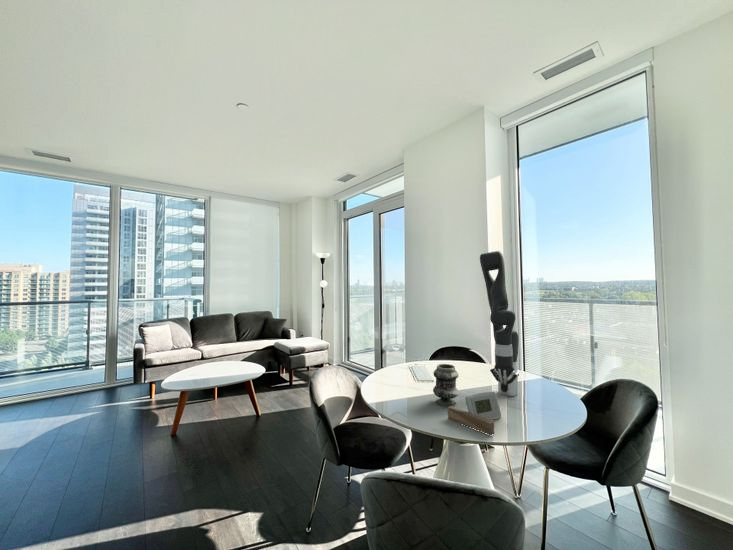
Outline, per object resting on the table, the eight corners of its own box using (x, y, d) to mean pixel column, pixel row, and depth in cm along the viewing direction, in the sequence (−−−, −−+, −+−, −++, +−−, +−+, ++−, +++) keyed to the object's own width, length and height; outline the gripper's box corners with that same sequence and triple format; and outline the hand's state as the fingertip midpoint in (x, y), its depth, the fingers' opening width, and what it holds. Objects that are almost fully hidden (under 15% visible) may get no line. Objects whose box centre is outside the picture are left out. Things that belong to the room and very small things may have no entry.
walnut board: (451, 417, 142) (451, 406, 142) (494, 434, 126) (494, 421, 126) (448, 419, 141) (448, 407, 141) (490, 436, 125) (490, 423, 125)
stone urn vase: (455, 409, 150) (454, 370, 151) (429, 405, 156) (429, 367, 156) (461, 401, 161) (461, 364, 161) (437, 396, 167) (437, 361, 167)
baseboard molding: (413, 383, 191) (433, 383, 191) (413, 378, 191) (433, 378, 191) (407, 368, 222) (424, 368, 222) (407, 363, 222) (424, 364, 222)
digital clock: (471, 426, 134) (471, 399, 134) (460, 416, 143) (460, 392, 143) (506, 422, 137) (506, 396, 138) (494, 413, 146) (493, 389, 146)
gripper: (522, 354, 146) (523, 393, 146) (493, 349, 156) (495, 386, 156) (514, 357, 141) (515, 397, 141) (485, 352, 151) (486, 390, 151)
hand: (504, 391), depth 149 cm, fingers closed
